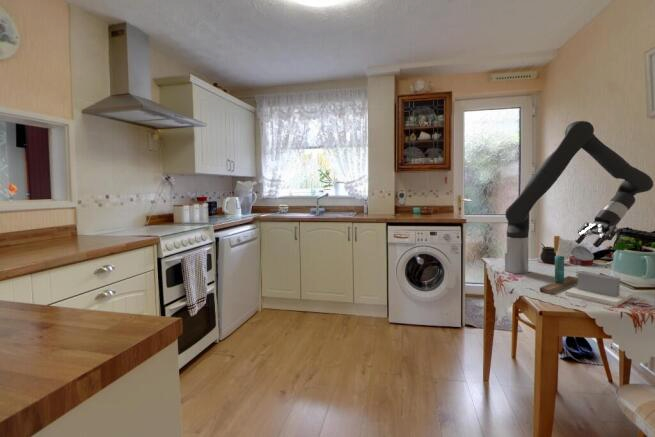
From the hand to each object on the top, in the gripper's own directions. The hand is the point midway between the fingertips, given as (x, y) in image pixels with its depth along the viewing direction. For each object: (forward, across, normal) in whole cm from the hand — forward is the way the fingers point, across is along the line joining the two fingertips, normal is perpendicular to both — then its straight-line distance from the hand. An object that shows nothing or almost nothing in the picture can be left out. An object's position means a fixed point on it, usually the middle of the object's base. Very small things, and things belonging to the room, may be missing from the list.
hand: (585, 244), depth 140 cm
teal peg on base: (+20, 0, +4) cm, 21 cm away
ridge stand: (+17, +13, +6) cm, 23 cm away
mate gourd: (+3, -36, +21) cm, 41 cm away
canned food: (-5, -28, +30) cm, 41 cm away
